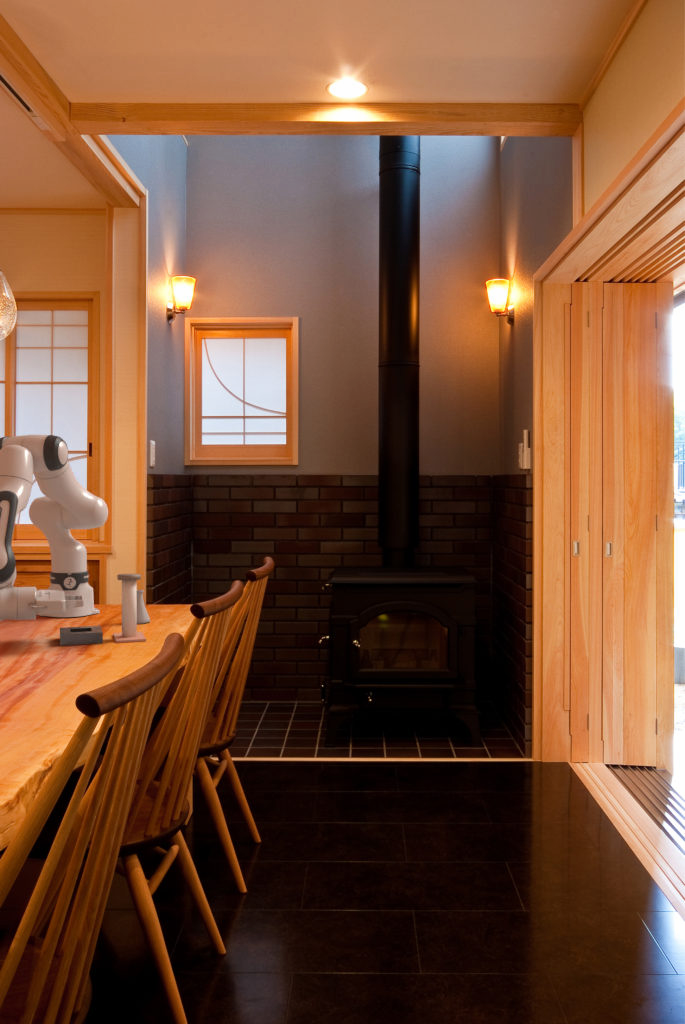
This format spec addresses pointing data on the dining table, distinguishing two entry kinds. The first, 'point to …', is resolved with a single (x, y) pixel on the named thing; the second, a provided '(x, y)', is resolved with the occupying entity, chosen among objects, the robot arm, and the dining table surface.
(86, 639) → the eye block
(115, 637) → the pad
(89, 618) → the dining table surface
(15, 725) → the dining table surface
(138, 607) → the flask
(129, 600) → the peg
